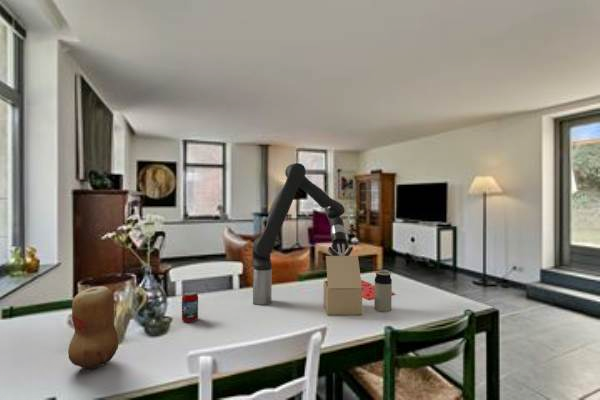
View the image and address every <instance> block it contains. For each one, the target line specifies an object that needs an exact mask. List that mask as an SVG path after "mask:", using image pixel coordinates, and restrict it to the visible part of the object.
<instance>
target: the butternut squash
mask: <svg viewBox="0 0 600 400" xmlns="http://www.w3.org/2000/svg"><path fill="white" fill-rule="evenodd" d="M114 297H115V296H114V293H113V292H112V291H111V289H109V288H108V287H106V286H101V285H100V286H94V287H89V288H86V289H83V290H82V291H80V292H79V293H77V294H76V295H75V296H74V297H73V299H72V303H71V305H72V306H71V320H72V321H71V322H72V324H73V328H74V333H73V335H72V337H71V339H70V341H69V342H70V343H69V345H68V350H67V353H68V360H69V361H70V362H71V363H72V364H73V365H75V366H77V367H80V368H82V369H87V370H94V369H96V368H97V367H99V366H105V365H106V364H108V363H109V362H110V361H111V360H112V359H113V357H114V356H115V355H116V352H117V351H118V349H119V335H118V333H117V330H116V326H115V302H114Z"/></svg>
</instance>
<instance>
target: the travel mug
mask: <svg viewBox="0 0 600 400" xmlns="http://www.w3.org/2000/svg"><path fill="white" fill-rule="evenodd" d="M391 276H392V272H390V271H387V270H377V271H375V278H374V285H375V299H374V310H376V311H378V312H382V313H387V312H390V311H392V296H393V295H392V292H393V291H392V286H393V285H392V282H393V280H392V277H391Z"/></svg>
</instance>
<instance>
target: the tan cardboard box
mask: <svg viewBox="0 0 600 400" xmlns="http://www.w3.org/2000/svg"><path fill="white" fill-rule="evenodd" d="M325 263H326V264H325V265H326V278H327V279H326V281H327V280H328V289H362V287H363V286H362V283H361V280H362V278H361V277H362V276H361V270H360V261H359V256H358V255H349V256H342V255H341V256H333V255H325Z"/></svg>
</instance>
